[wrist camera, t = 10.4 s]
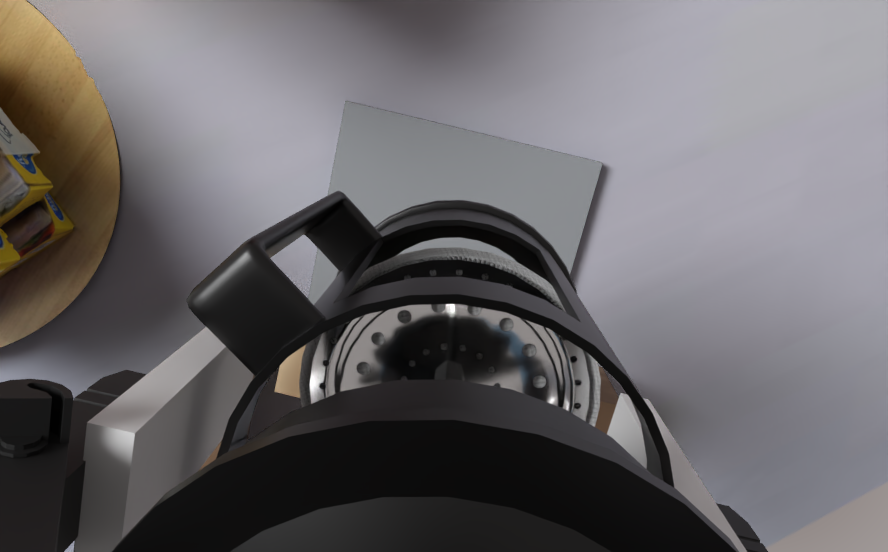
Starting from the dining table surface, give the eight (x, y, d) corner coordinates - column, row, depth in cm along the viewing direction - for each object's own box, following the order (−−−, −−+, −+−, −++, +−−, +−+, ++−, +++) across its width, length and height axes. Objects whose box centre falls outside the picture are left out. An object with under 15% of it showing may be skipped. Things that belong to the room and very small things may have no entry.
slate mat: (310, 299, 42) (307, 302, 41) (347, 101, 39) (345, 100, 38) (544, 353, 43) (545, 358, 42) (599, 161, 39) (602, 162, 39)
